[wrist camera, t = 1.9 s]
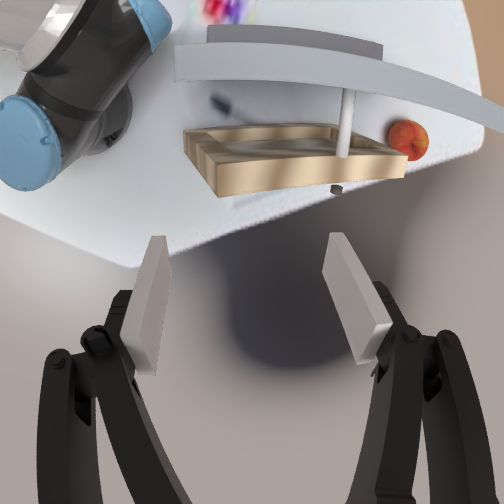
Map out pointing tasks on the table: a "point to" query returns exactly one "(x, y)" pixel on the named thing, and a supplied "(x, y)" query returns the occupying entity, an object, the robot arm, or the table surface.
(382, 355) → the robot arm
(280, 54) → the panel
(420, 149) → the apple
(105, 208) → the table surface
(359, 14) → the table surface
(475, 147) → the table surface
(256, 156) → the frame
